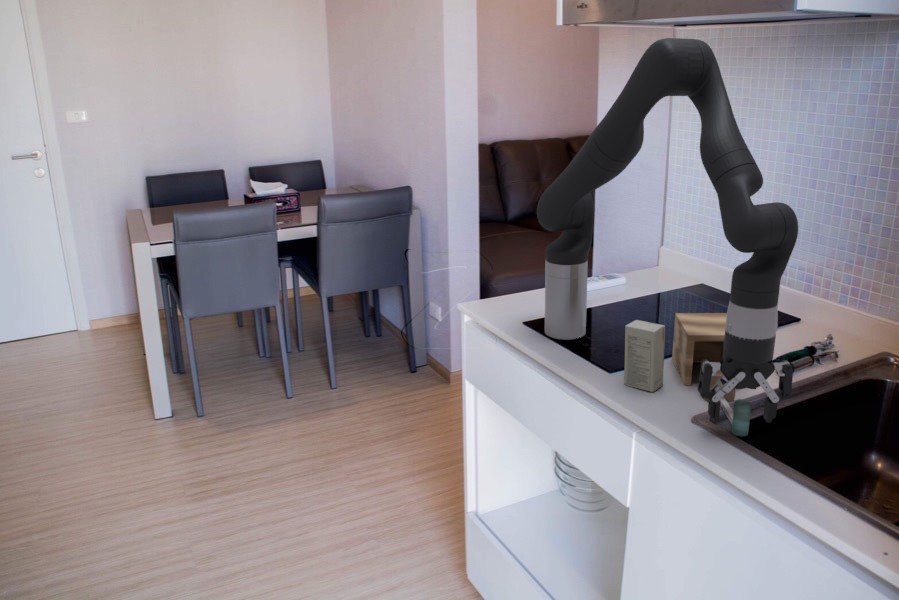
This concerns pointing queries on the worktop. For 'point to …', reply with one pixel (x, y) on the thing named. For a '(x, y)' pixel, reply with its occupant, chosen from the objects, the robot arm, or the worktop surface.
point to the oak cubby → (697, 340)
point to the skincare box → (644, 355)
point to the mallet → (741, 409)
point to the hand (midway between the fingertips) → (740, 420)
